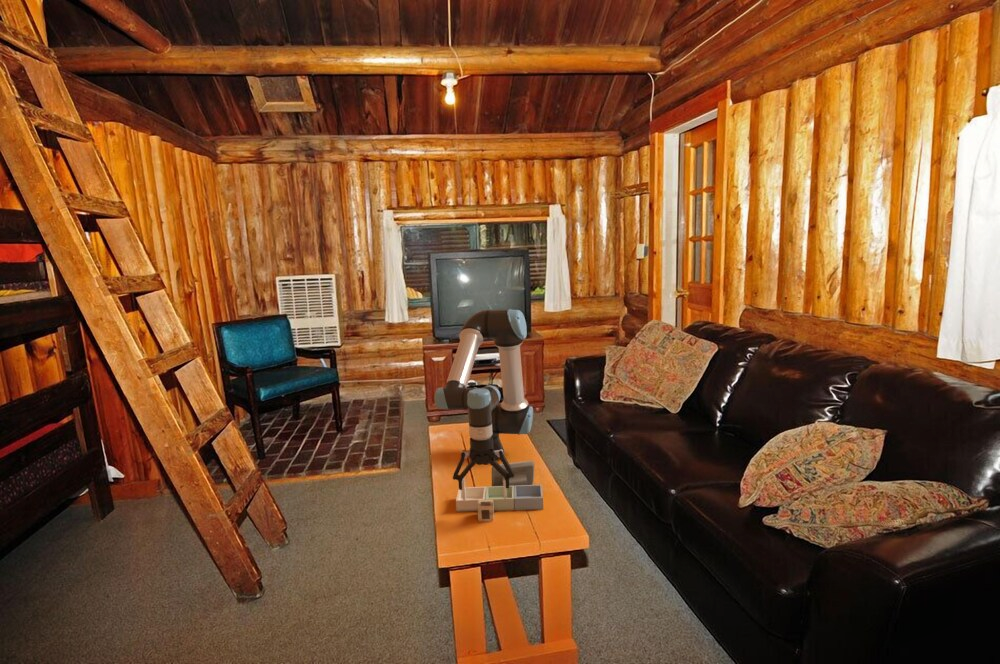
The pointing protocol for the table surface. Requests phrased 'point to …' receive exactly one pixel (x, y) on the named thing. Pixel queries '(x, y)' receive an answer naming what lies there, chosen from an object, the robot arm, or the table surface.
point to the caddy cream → (470, 499)
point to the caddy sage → (501, 497)
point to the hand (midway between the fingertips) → (484, 497)
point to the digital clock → (515, 474)
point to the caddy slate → (528, 497)
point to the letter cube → (485, 510)
